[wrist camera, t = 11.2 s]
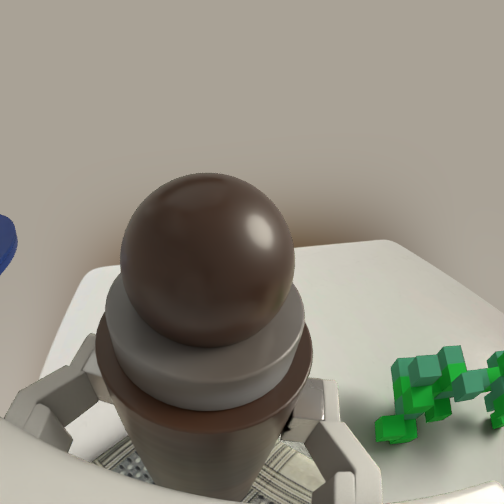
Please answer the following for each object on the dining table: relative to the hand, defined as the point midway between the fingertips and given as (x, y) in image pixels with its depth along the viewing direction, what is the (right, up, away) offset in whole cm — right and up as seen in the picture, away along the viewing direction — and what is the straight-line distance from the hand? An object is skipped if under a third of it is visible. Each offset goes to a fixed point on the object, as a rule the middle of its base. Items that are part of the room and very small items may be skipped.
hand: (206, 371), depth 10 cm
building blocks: (+23, -15, +18) cm, 32 cm away
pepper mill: (-1, -8, +4) cm, 9 cm away
